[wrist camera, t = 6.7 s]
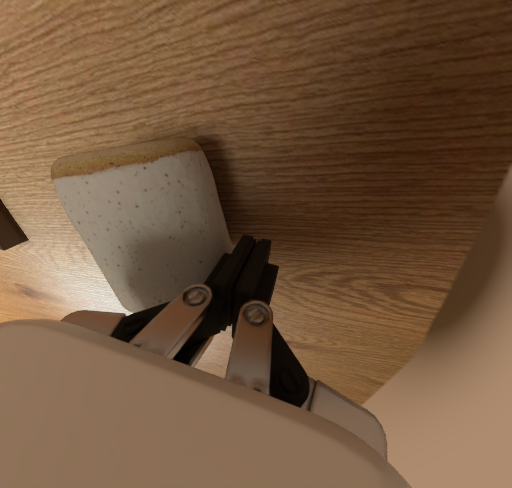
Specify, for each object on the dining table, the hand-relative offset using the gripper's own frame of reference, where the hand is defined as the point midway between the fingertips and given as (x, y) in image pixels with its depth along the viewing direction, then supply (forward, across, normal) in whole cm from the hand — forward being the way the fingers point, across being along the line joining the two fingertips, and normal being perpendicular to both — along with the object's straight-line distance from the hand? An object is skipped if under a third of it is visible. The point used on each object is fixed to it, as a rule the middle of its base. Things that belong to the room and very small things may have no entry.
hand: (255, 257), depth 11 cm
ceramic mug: (+4, +7, 0) cm, 8 cm away
